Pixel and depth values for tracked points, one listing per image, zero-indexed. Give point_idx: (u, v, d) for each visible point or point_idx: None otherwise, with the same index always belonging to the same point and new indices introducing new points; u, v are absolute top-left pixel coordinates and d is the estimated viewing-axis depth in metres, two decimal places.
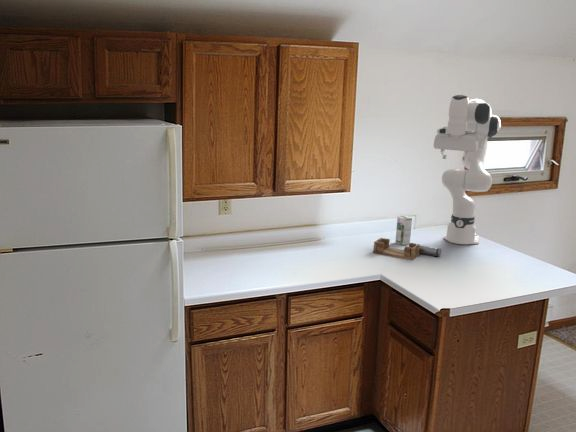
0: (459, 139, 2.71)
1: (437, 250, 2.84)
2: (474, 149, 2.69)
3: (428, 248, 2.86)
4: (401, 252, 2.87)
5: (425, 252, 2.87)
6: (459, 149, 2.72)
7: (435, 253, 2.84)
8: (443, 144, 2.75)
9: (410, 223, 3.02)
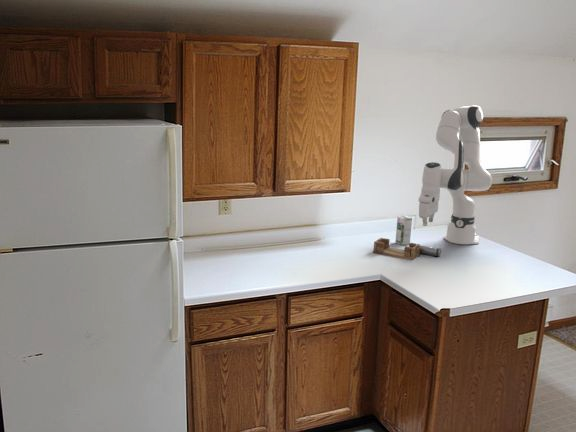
0: (433, 203, 2.84)
1: (437, 250, 2.84)
2: (437, 209, 2.91)
3: (428, 248, 2.86)
4: (401, 252, 2.87)
5: (425, 252, 2.87)
6: (433, 213, 2.85)
7: (435, 253, 2.84)
8: (429, 212, 2.78)
9: (410, 223, 3.02)
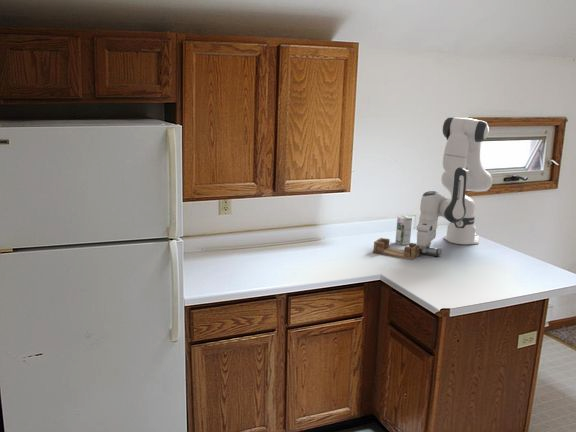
0: (431, 231, 2.87)
1: (437, 250, 2.84)
2: (435, 235, 2.94)
3: (428, 248, 2.86)
4: (401, 252, 2.87)
5: (425, 252, 2.87)
6: (431, 240, 2.89)
7: (435, 253, 2.84)
8: (427, 240, 2.82)
9: (410, 223, 3.02)
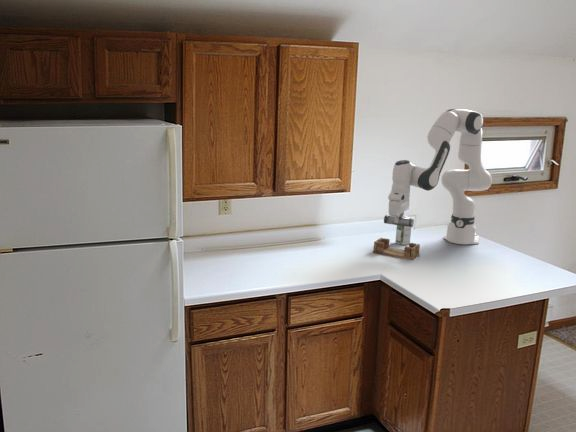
0: (404, 201, 2.83)
1: (410, 220, 2.80)
2: (408, 207, 2.90)
3: (401, 219, 2.82)
4: (401, 252, 2.87)
5: (398, 223, 2.83)
6: (404, 210, 2.84)
7: (408, 223, 2.80)
8: (399, 210, 2.77)
9: None
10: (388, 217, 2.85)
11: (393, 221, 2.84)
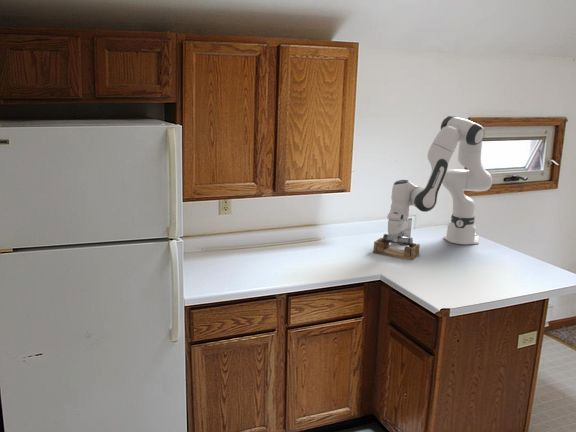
0: (403, 220, 2.85)
1: (409, 239, 2.82)
2: (407, 225, 2.92)
3: (400, 237, 2.84)
4: (401, 252, 2.87)
5: (397, 241, 2.84)
6: (403, 229, 2.86)
7: (407, 242, 2.82)
8: (398, 229, 2.79)
9: (410, 223, 3.02)
10: (387, 236, 2.87)
11: (392, 240, 2.85)
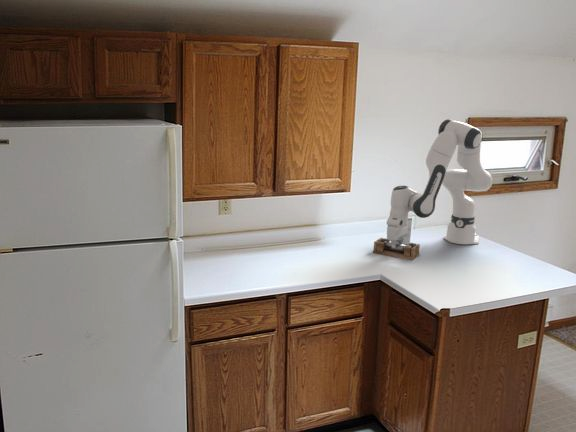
0: None
1: None
2: None
3: (399, 245, 2.86)
4: None
5: (396, 249, 2.86)
6: (402, 234, 2.87)
7: None
8: (397, 234, 2.80)
9: (410, 223, 3.02)
10: (387, 243, 2.89)
11: (391, 247, 2.87)
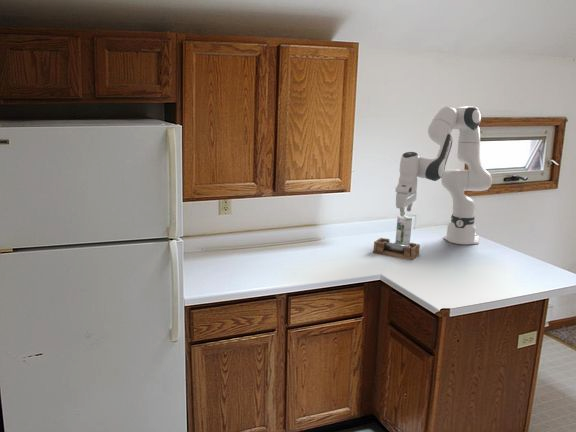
0: None
1: None
2: None
3: (399, 246, 2.85)
4: None
5: (396, 250, 2.86)
6: (411, 202, 2.84)
7: None
8: (406, 202, 2.77)
9: (410, 223, 3.02)
10: (386, 244, 2.88)
11: (391, 248, 2.87)
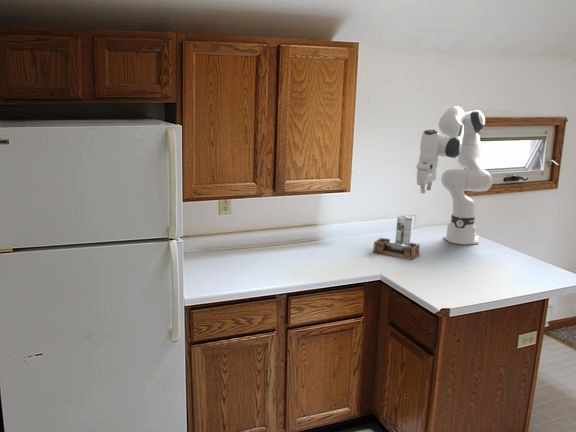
0: (431, 171, 2.83)
1: None
2: (435, 177, 2.90)
3: (399, 245, 2.86)
4: None
5: (396, 249, 2.86)
6: (431, 180, 2.85)
7: None
8: (427, 179, 2.78)
9: (410, 223, 3.02)
10: (386, 243, 2.89)
11: (391, 247, 2.87)
